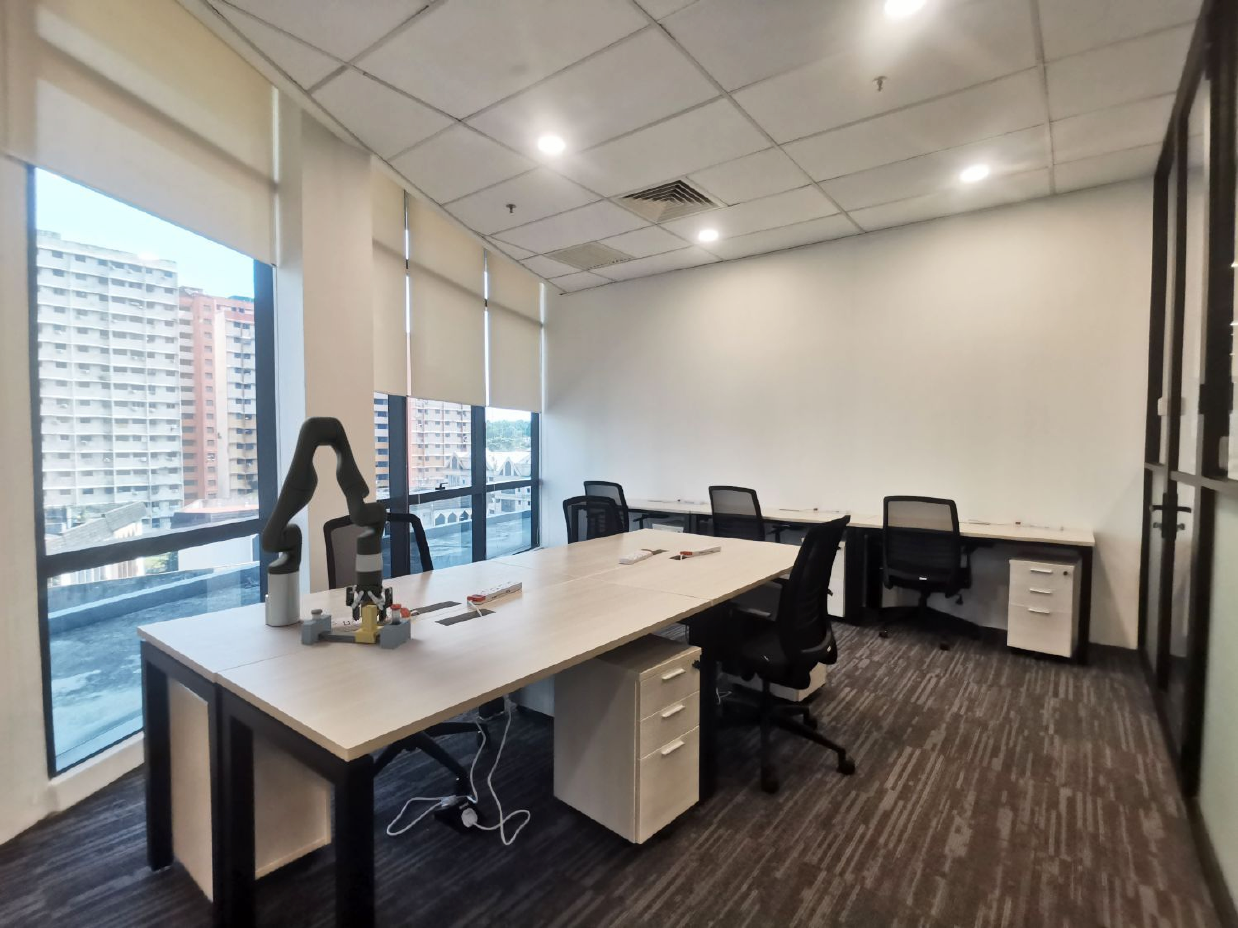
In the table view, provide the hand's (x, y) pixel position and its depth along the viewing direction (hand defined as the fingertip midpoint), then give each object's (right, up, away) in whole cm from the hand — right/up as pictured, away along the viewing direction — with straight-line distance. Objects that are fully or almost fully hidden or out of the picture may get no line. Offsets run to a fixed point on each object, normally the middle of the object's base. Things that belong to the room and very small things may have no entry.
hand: (369, 620), depth 172 cm
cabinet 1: (-17, -6, +2) cm, 19 cm away
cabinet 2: (+8, -7, -1) cm, 11 cm away
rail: (-5, -6, +1) cm, 8 cm away
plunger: (+8, -1, -1) cm, 9 cm away
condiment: (-9, -6, +19) cm, 22 cm away
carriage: (0, -7, 0) cm, 7 cm away
